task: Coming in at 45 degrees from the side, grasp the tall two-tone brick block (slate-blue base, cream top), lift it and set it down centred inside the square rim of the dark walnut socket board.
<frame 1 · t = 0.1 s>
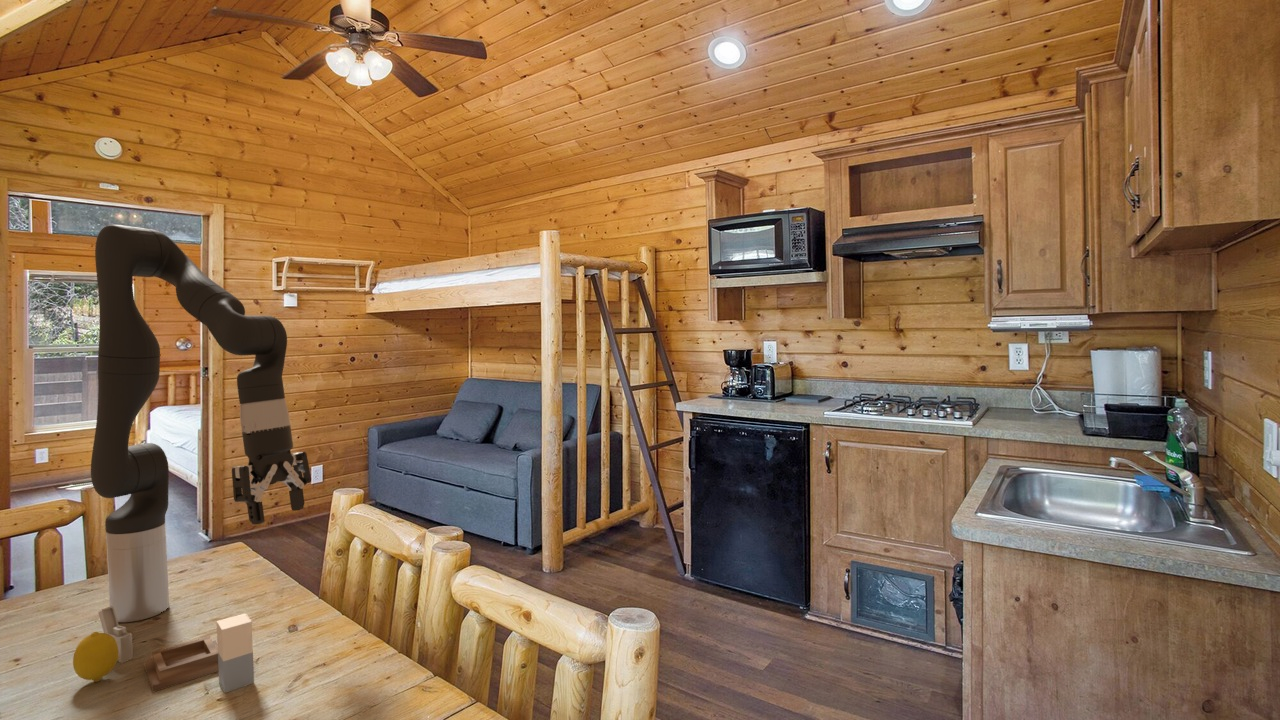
hand: (278, 516, 115), 23 cm above the table, tool pointing down, fingers open, 8 cm apart
socket board: (186, 667, 107), on the table
brick block: (236, 682, 102), on the table
lighter: (116, 656, 110), on the table
lemon: (97, 682, 103), on the table
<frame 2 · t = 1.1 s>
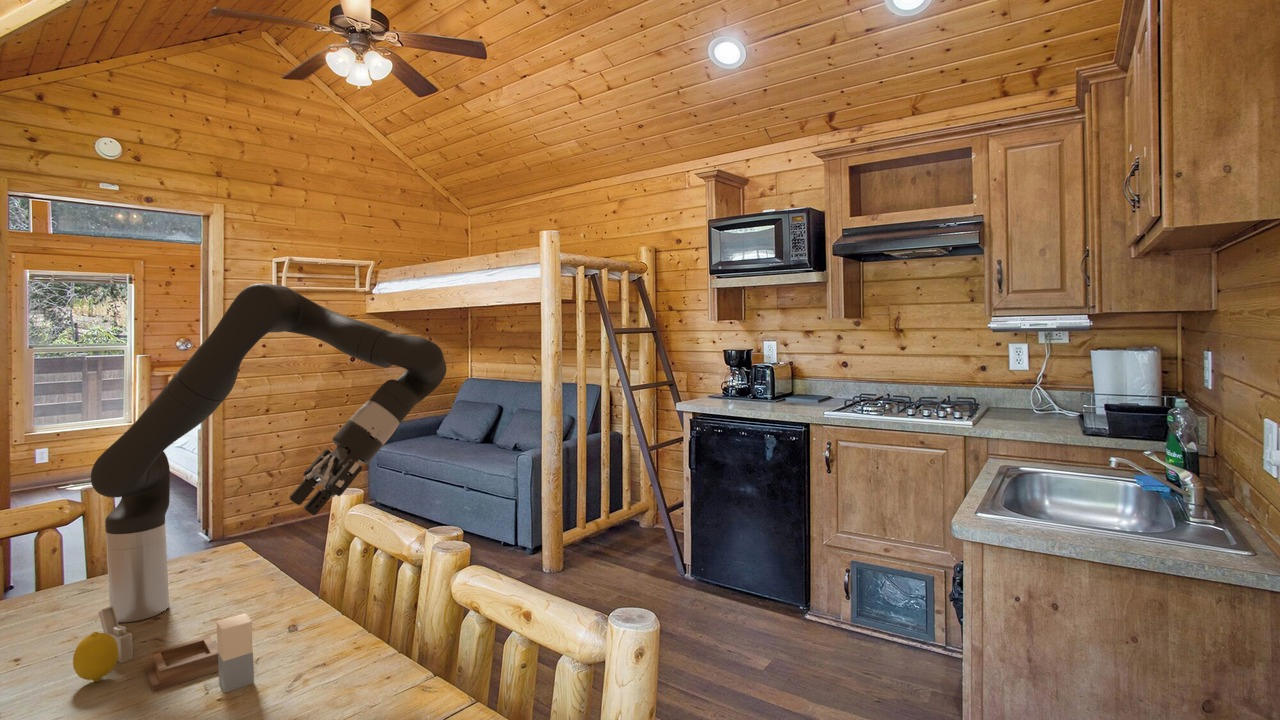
hand: (300, 507, 109), 26 cm above the table, tool tilted 45°, fingers open, 8 cm apart
nothing on the table moved.
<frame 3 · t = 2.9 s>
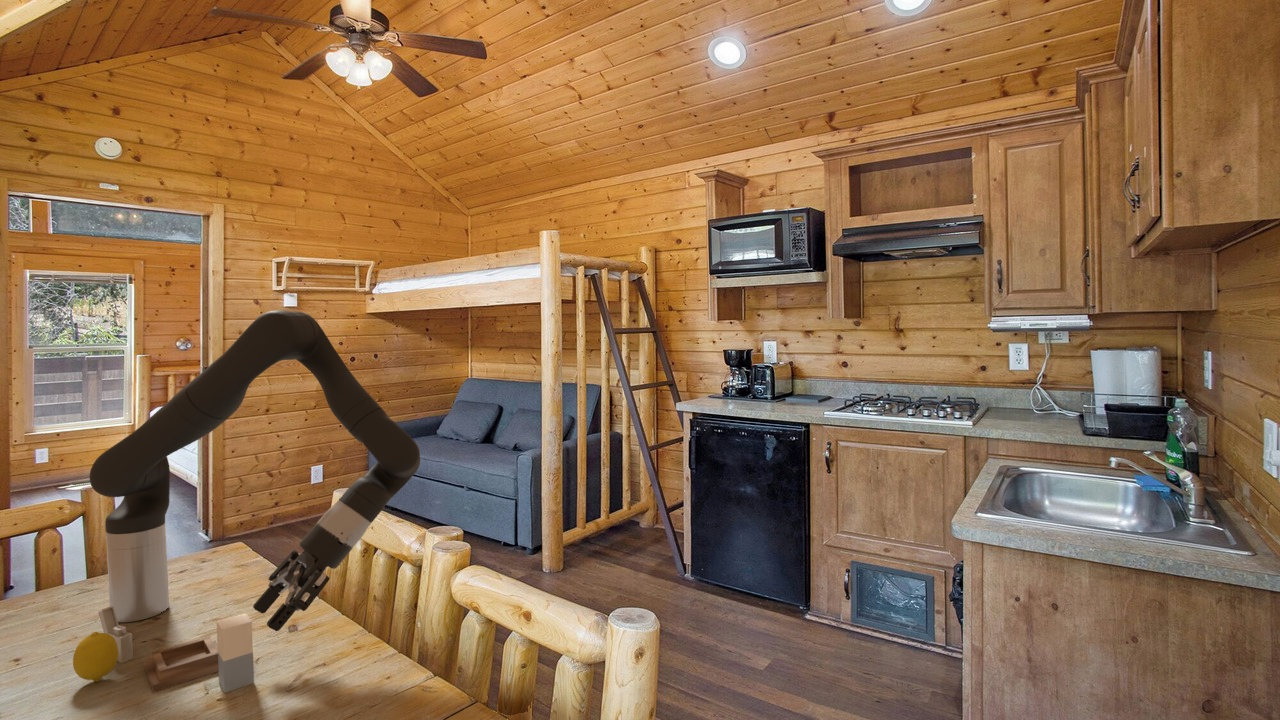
hand: (264, 619, 104), 9 cm above the table, tool tilted 45°, fingers open, 8 cm apart
nothing on the table moved.
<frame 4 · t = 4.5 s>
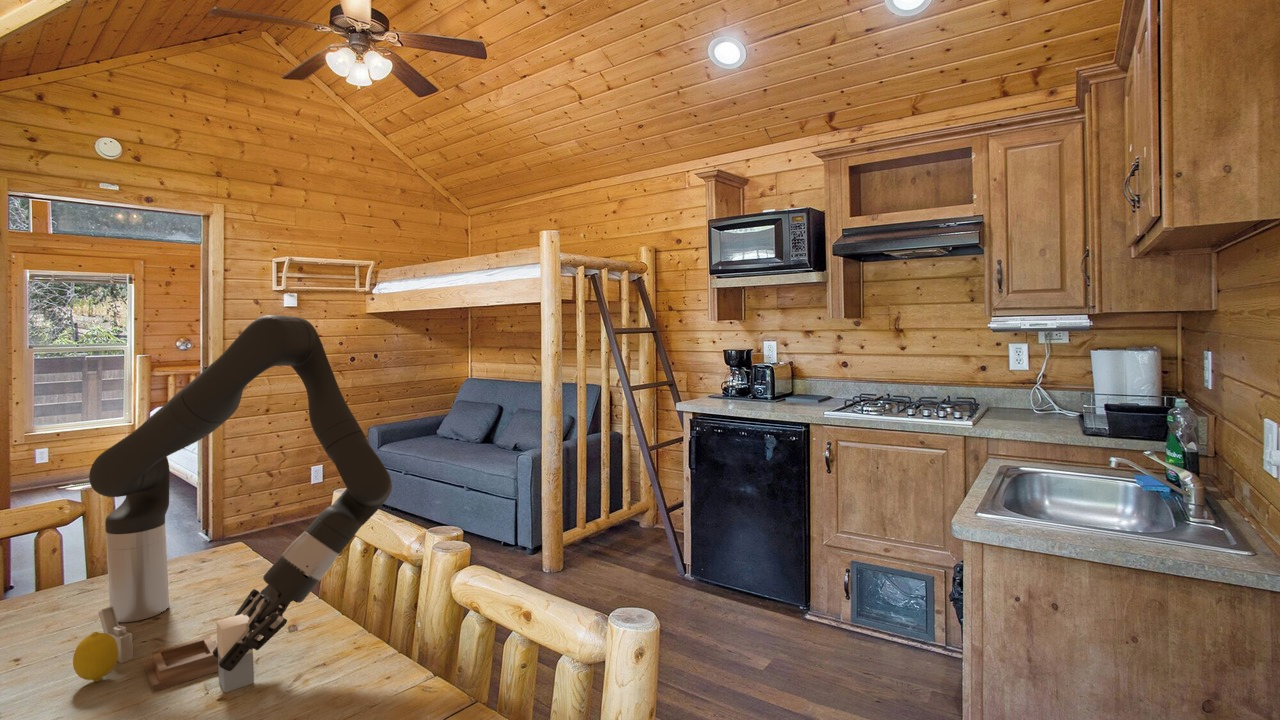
hand: (221, 662, 100), 4 cm above the table, tool tilted 45°, fingers closed on brick block, 4 cm apart
brick block: (236, 682, 102), on the table, touching gripper
everything else where it was.
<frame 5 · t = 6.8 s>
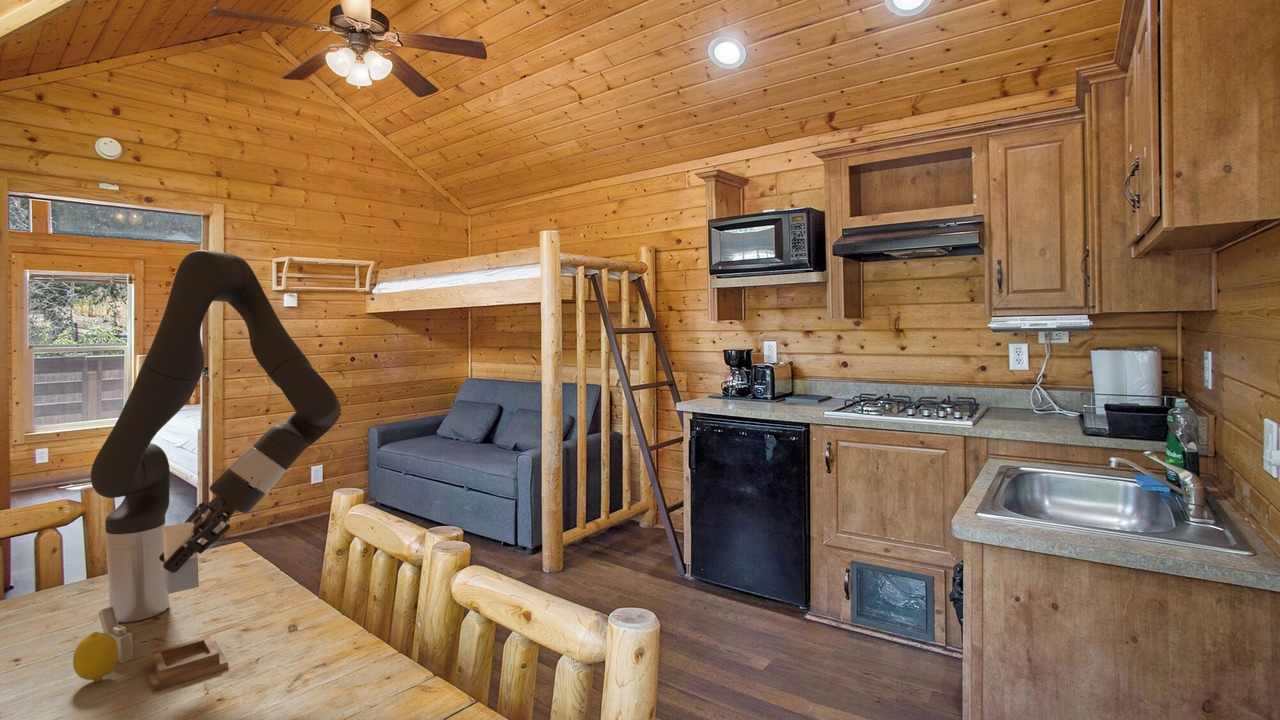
hand: (166, 565, 104), 18 cm above the table, tool tilted 45°, fingers closed on brick block, 4 cm apart
brick block: (182, 586, 106), point 14 cm above the table, touching gripper
everything else where it was.
when the fingers open (6 cm above the table, at t = 9.3 s): brick block drops 1 cm, resting on socket board.
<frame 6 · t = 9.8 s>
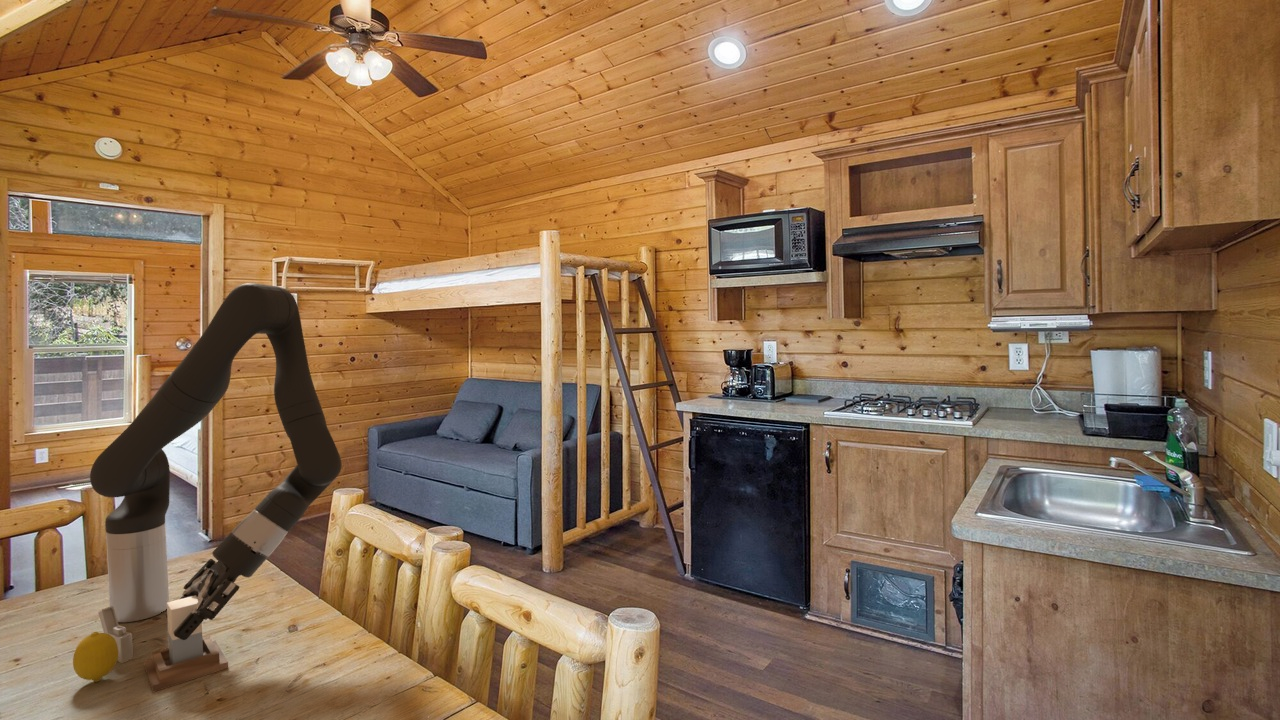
hand: (174, 628, 105), 7 cm above the table, tool tilted 45°, fingers open, 8 cm apart
brick block: (186, 661, 107), point 1 cm above the table, touching socket board
everything else where it was.
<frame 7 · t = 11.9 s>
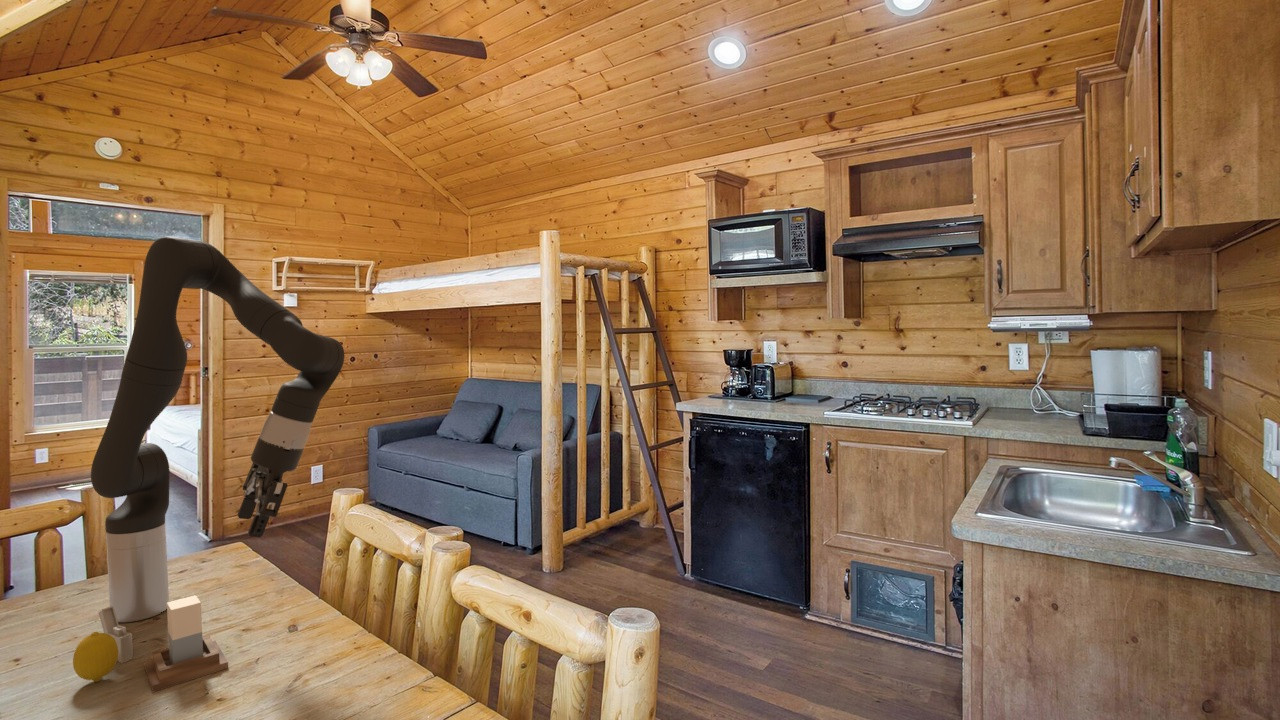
hand: (248, 526, 114), 21 cm above the table, tool tilted 20°, fingers open, 8 cm apart
nothing on the table moved.
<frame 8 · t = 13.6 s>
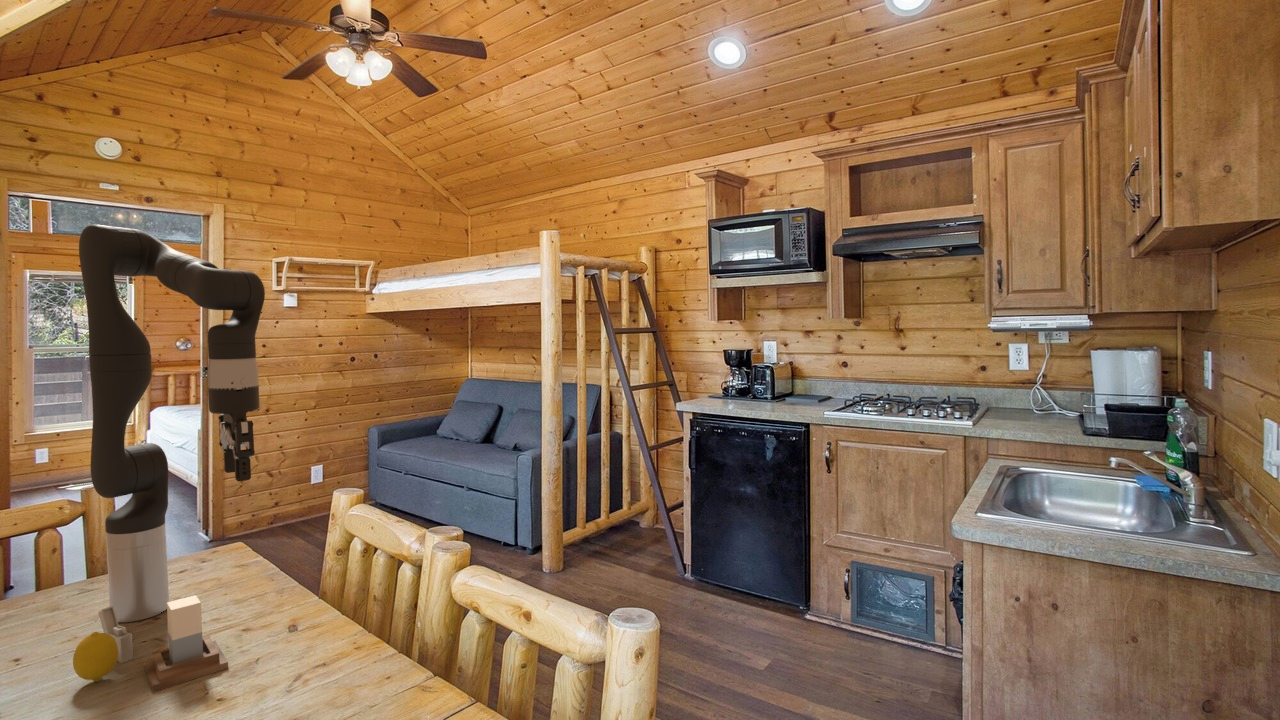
hand: (237, 476, 113), 30 cm above the table, tool pointing down, fingers open, 8 cm apart
nothing on the table moved.
at the end: brick block 0.1 cm off-centre on the socket board, point 1.0 cm above the socket board's base; brick block tilted 0°; the gripper is holding nothing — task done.
